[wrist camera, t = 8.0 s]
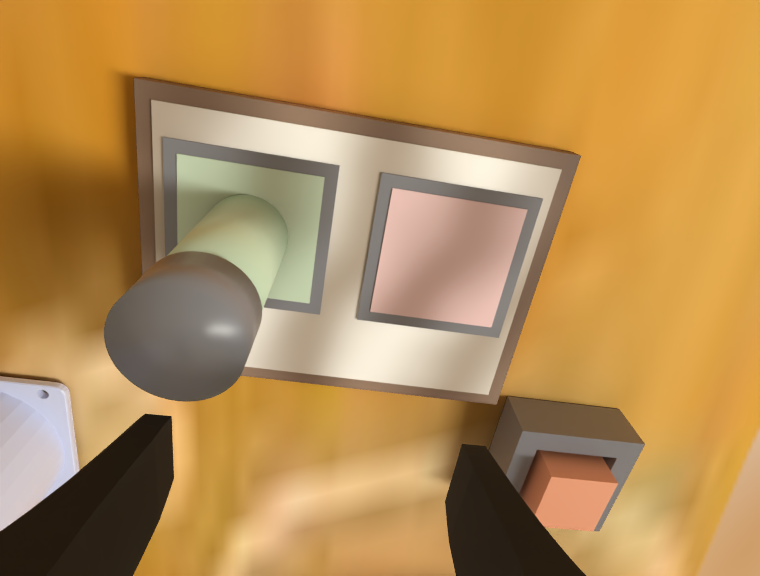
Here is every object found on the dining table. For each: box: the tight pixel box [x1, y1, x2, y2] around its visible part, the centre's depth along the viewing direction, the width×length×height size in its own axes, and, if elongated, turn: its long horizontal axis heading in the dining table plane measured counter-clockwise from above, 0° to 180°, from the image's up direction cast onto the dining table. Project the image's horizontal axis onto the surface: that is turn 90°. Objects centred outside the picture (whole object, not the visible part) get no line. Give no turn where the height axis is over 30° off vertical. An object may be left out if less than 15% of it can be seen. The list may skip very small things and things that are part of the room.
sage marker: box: [104, 194, 288, 401], centre depth 15 cm, size 3×3×8 cm
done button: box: [519, 450, 618, 531], centre depth 23 cm, size 3×3×2 cm
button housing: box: [489, 396, 645, 531], centre depth 25 cm, size 6×6×2 cm
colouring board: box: [134, 77, 581, 405], centre depth 20 cm, size 16×12×1 cm
